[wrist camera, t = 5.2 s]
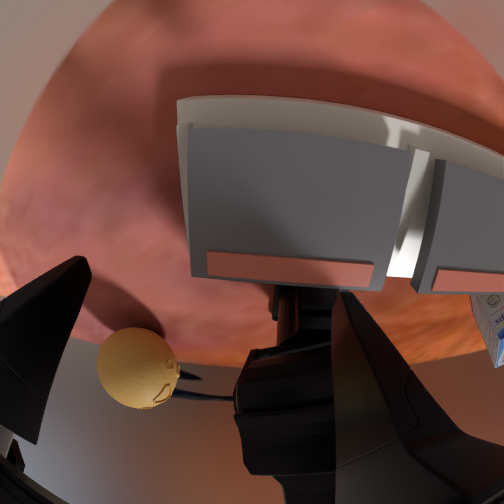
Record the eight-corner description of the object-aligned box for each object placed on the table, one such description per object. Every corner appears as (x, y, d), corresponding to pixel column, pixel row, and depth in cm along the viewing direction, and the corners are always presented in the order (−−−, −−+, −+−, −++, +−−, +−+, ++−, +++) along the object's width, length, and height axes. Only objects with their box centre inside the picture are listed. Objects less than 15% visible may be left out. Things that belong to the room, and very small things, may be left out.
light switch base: (478, 261, 20) (496, 288, 17) (201, 237, 22) (187, 269, 18) (517, 162, 13) (544, 182, 10) (193, 96, 15) (169, 102, 12)
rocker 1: (373, 277, 16) (382, 292, 14) (198, 263, 17) (190, 277, 15) (398, 149, 12) (412, 151, 11) (197, 129, 13) (186, 128, 12)
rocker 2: (503, 285, 15) (514, 295, 13) (407, 281, 15) (418, 294, 14) (526, 193, 12) (540, 198, 10) (431, 158, 12) (447, 160, 11)
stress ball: (111, 307, 31) (100, 372, 30) (94, 332, 21) (86, 411, 21) (183, 329, 34) (167, 390, 33) (192, 360, 24) (173, 433, 24)
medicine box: (497, 296, 22) (524, 350, 15) (471, 313, 24) (494, 370, 17) (495, 256, 19) (534, 316, 12) (465, 277, 21) (499, 342, 14)
